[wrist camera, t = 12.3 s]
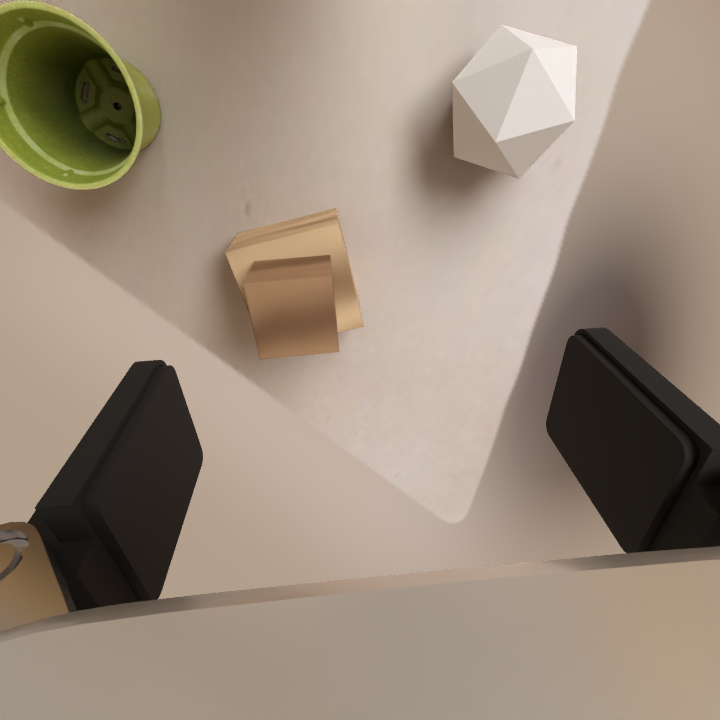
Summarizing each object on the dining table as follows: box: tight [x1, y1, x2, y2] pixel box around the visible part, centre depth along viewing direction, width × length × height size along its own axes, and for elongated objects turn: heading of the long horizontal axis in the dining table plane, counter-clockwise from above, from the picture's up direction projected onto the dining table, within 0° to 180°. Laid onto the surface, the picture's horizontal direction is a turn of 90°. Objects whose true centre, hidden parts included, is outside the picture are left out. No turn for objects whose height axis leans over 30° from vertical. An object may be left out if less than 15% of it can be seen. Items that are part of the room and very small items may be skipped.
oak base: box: [225, 208, 364, 333], centre depth 37 cm, size 9×9×6 cm
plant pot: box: [0, 0, 161, 190], centre depth 28 cm, size 9×9×9 cm
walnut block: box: [244, 255, 339, 359], centre depth 33 cm, size 6×6×5 cm
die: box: [452, 25, 577, 179], centre depth 31 cm, size 8×9×10 cm
